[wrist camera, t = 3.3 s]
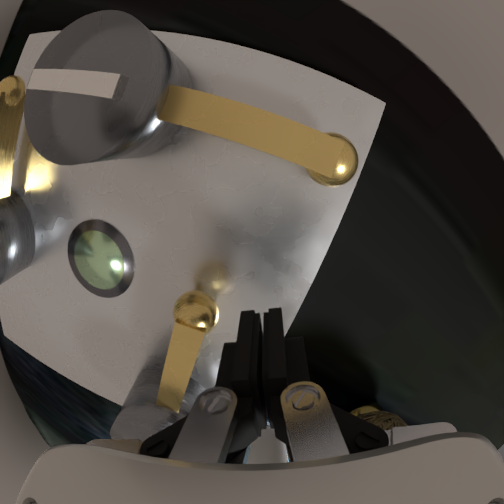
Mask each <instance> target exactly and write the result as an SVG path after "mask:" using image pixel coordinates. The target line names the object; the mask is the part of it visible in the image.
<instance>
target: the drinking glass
mask: <svg viewBox="0 0 504 504" xmlns="http://www.w3.org/2000/svg"><path fill="white" fill-rule="evenodd" d="M286 462H287V452H286V444H284V443H283V442H281V441H280V440H279V439H277V438H276V437H275V432H274V429H271V428H270V426H267V428H266V429H261V437H258V438H257V439H256V440H255V441H254V442H252V443H251V449H250V453H249V457H248V461H247V464H268V463H286Z"/></svg>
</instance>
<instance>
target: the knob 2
mask: <svg viewBox="0 0 504 504" xmlns="http://www.w3.org/2000/svg"><path fill="white" fill-rule="evenodd" d="M173 318H174V322H175V324H174V328H173V332H172V336H171V340H170V344H169V348H168V352H167V356H166V360H165V365H164V369H150V370H146V371H144V372H142V373H141V374H139V375H138V377H137V378H136V380H135V382H134V384H133V386H132V388H131V390H130V392H129V393H128V395H127V397H126V399H125V401H124V403H123V405H122V407H121V409H120V411H119V413H118V415H117V417H116V419H115V421H114V423H113V425H112V427H111V429H110V436H111V439H139V440H140V441H145V440H146V439H147V438H149V437H150V436H152V435H154V434H156V433H157V432H159V431H161V430H163V429H164V428H166V427H168V426H170V425H171V424H173V423H175V422H177V421H178V420H180V419H182V418H183V417H185V416H187V415H188V414H189V412H190V410H191V408H192V406H193V404H194V402H195V399H196V398H197V396H198V395H199V394H200V393H201V392H203V391H204V390H206V389H205V388H204V387H203V386H202V385H201V384H200V383H198V382H197V381H195V380H194V379H192V378H190V376H191V373H192V370H193V367H194V364H195V361H196V358H197V355H198V352H199V349H200V347H201V344H202V341H203V338H204V335H206V334H208V333H209V332H211V331H212V330H213V329H214V328H215V326H216V325H217V323H218V320H219V308H218V305H217V303H216V301H215V300H214V298H213V297H212V296H211V295H209V294H208V293H206V292H204V291H200V290H191V291H188V292H185V293H184V294H182V295H181V296H180V297H179V298H178V299H177V300H176V302H175V304H174V307H173Z"/></svg>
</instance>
